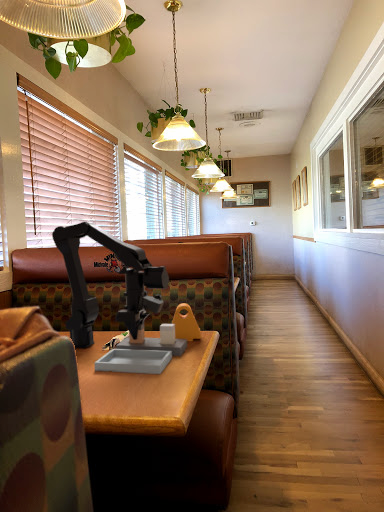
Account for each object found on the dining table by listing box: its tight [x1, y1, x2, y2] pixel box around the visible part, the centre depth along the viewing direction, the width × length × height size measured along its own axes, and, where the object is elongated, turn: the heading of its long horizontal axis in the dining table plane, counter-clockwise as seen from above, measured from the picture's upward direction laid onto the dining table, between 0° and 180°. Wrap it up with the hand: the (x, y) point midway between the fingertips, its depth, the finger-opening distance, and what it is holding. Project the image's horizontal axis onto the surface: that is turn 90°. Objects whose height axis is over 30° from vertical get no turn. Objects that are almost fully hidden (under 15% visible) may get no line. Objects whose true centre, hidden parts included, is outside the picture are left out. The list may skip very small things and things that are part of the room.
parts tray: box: [94, 348, 173, 375], centre depth 102 cm, size 18×12×2 cm, turn 79°
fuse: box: [159, 323, 175, 345], centre depth 114 cm, size 4×3×8 cm
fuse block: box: [115, 336, 188, 357], centre depth 115 cm, size 20×9×2 cm, turn 79°
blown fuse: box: [128, 322, 146, 343], centre depth 116 cm, size 4×3×8 cm
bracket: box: [171, 302, 202, 342], centre depth 127 cm, size 11×7×12 cm, turn 92°
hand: (136, 338), depth 116 cm, fingers closed on blown fuse, 3 cm apart
